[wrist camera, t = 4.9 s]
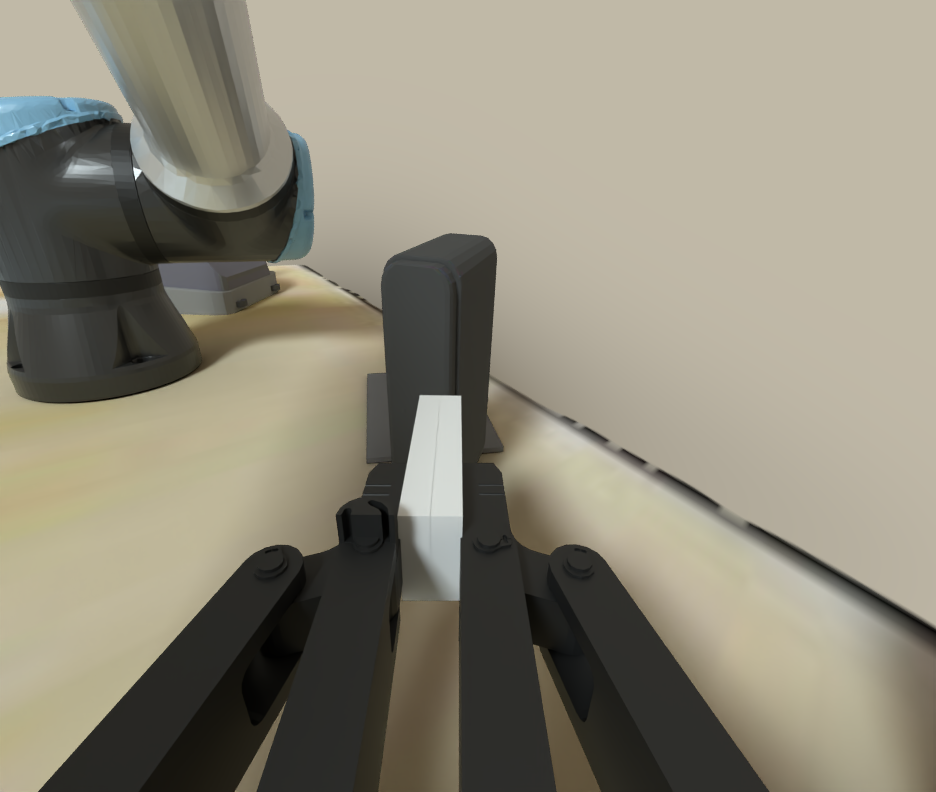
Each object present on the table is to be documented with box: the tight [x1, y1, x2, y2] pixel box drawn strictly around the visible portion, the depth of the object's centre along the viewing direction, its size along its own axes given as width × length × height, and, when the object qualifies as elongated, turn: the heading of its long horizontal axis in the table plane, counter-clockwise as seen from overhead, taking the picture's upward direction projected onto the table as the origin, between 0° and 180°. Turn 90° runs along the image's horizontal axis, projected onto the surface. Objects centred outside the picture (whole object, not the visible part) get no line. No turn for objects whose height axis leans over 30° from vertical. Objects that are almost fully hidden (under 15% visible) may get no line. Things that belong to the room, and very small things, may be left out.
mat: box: [366, 373, 504, 463], centre depth 39 cm, size 16×10×1 cm, turn 11°
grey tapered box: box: [158, 261, 280, 315], centre depth 71 cm, size 21×21×15 cm
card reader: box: [381, 233, 497, 464], centre depth 26 cm, size 9×4×15 cm, turn 165°
